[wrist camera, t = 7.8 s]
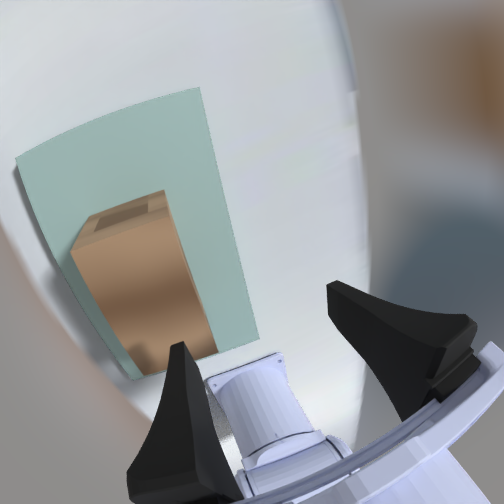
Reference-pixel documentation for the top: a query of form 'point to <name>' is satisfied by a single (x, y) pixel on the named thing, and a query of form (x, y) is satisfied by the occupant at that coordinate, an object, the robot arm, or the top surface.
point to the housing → (143, 281)
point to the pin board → (138, 185)
